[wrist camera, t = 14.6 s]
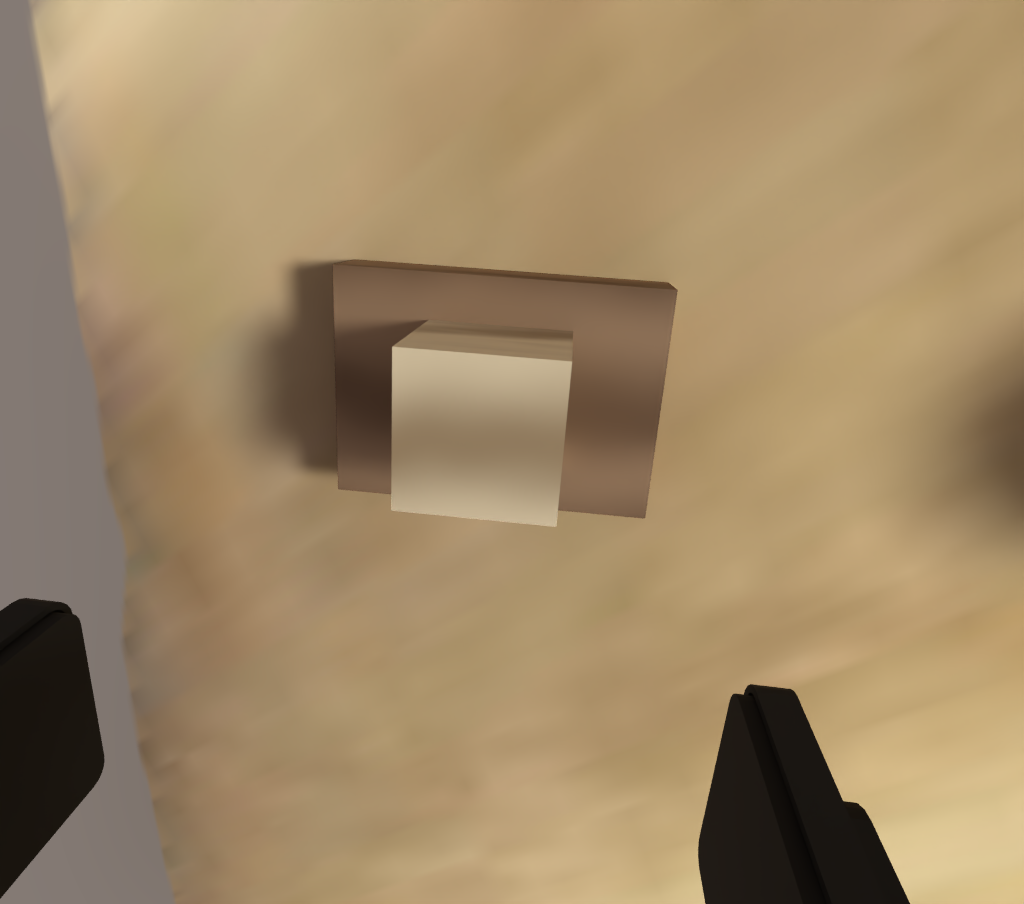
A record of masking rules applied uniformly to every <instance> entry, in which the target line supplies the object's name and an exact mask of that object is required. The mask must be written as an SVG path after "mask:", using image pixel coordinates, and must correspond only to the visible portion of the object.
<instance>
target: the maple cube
mask: <svg viewBox="0 0 1024 904" xmlns="http://www.w3.org/2000/svg"><path fill="white" fill-rule="evenodd" d="M572 353H573V331H563V330H550V329H538V328H525V327H513V326H501V325H488V324H476V323H463V322H451V321H438V320H428V321H427V322H425V323H424V324H422V325H421V326H420V327H418V328H417V329H416V330H414V331H413V332H412V333H410V334H409V335H407V336H406V337H405V338H403V339H402V340H401V341H399V342H398V343H396V344H395V345H394V346H392V465H391V511H400V512H410V513H421V514H431V515H441V516H451V517H461V518H471V519H482V520H492V521H502V522H512V523H522V524H532V525H543V526H553V527H556V525H557V515H558V504H559V494H560V483H561V473H562V463H563V452H564V442H565V431H566V421H567V411H568V400H569V390H570V379H571V369H572Z"/></svg>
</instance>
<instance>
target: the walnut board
mask: <svg viewBox="0 0 1024 904" xmlns="http://www.w3.org/2000/svg"><path fill="white" fill-rule="evenodd" d="M333 298H334V340H335V381H336V423H337V464H338V489H341V490H352V491H362V492H373V493H383V494H391V465H392V346H394V345H395V344H396V343H398V342H399V341H401V340H402V339H403V338H405V337H406V336H407V335H409V334H410V333H412V332H413V331H414V330H416V329H417V328H418V327H420V326H421V325H422V324H424V323H425V322H427V321H428V320H438V321H451V322H463V323H476V324H488V325H501V326H513V327H525V328H538V329H550V330H563V331H573V353H572V369H571V379H570V390H569V400H568V411H567V421H566V431H565V442H564V452H563V463H562V473H561V483H560V494H559V504H558V510H561V511H572V512H582V513H593V514H603V515H614V516H624V517H634V518H645V515H646V508H647V501H648V494H649V487H650V480H651V473H652V466H653V459H654V452H655V445H656V438H657V431H658V424H659V417H660V410H661V403H662V396H663V389H664V382H665V375H666V368H667V361H668V354H669V347H670V340H671V333H672V326H673V319H674V312H675V305H676V298H677V289H676V288H674V287H673V286H672V285H671V284H669V283H667V282H654V281H640V280H626V279H613V278H599V277H586V276H572V275H559V274H545V273H531V272H518V271H504V270H491V269H477V268H463V267H450V266H436V265H423V264H409V263H395V262H382V261H368V260H351V261H346V262H341V263H337V264H333Z"/></svg>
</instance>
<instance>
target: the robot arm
mask: <svg viewBox="0 0 1024 904" xmlns="http://www.w3.org/2000/svg"><path fill="white" fill-rule="evenodd" d="M99 730H100V729H99V724H98V718H97V713H96V708H95V701H94V696H93V690H92V684H91V679H90V673H89V667H88V662H87V656H86V650H85V645H84V639H83V633H82V628H81V623H80V620H79V618H78V617H77V616H76V615H73V614H72V611H71V609H70V607H69V606H68V605H67V604H64V603H62V602H54V601H46V600H38V599H29V598H24V599H19V600H17V601H15V602H13V603H11V604H10V605H9V606H7V607H6V608H4V609H3V610H1V611H0V898H1V897H2V896H3V895H4V894H5V892H6V891H7V890H8V889H9V887H10V886H11V885H12V884H13V883H14V882H15V880H16V879H17V878H18V877H19V876H20V874H21V873H22V872H23V871H24V870H25V868H26V867H27V866H28V865H29V864H30V862H31V861H32V860H33V859H34V858H35V856H36V855H37V854H38V853H39V851H40V850H41V849H42V848H43V847H44V846H45V844H46V843H47V842H48V841H49V840H50V839H51V837H52V836H53V835H54V834H55V833H56V831H57V830H58V829H59V828H60V827H61V825H62V824H63V823H64V822H65V821H66V819H67V818H68V817H69V816H70V814H71V813H72V812H73V811H74V810H75V809H76V807H77V806H78V805H79V804H80V803H81V802H82V800H83V799H84V798H85V797H86V796H87V794H88V793H89V792H90V791H91V790H92V788H93V787H94V785H95V784H96V783H97V781H98V780H99V778H100V776H101V773H102V770H103V767H104V752H103V746H102V741H101V735H100V731H99ZM698 858H699V869H700V875H701V881H702V886H703V892H704V898H705V903H706V904H910V903H909V901H908V898H907V896H906V894H905V892H904V890H903V888H902V886H901V883H900V881H899V879H898V877H897V875H896V873H895V871H894V869H893V866H892V864H891V862H890V860H889V858H888V856H887V854H886V851H885V849H884V847H883V845H882V843H881V841H880V839H879V836H878V834H877V832H876V830H875V828H874V826H873V824H872V821H871V820H870V818H869V816H868V815H867V813H866V811H865V810H864V809H863V808H862V807H861V806H860V805H859V804H858V803H853V802H845V801H843V800H842V798H841V795H840V793H839V791H838V789H837V786H836V784H835V782H834V779H833V777H832V775H831V772H830V770H829V768H828V766H827V763H826V761H825V759H824V756H823V754H822V752H821V750H820V747H819V745H818V743H817V740H816V738H815V736H814V733H813V731H812V729H811V727H810V724H809V722H808V720H807V717H806V715H805V713H804V711H803V708H802V706H801V704H800V701H799V699H798V697H797V695H796V693H795V692H794V691H793V690H791V689H785V688H777V687H768V686H760V685H752V684H751V685H748V686H747V688H746V689H745V693H744V695H742V694H733V695H732V697H731V699H730V702H729V707H728V711H727V716H726V720H725V725H724V729H723V734H722V738H721V743H720V747H719V752H718V756H717V761H716V765H715V770H714V774H713V779H712V783H711V788H710V792H709V797H708V801H707V806H706V810H705V815H704V819H703V824H702V828H701V833H700V838H699V847H698Z"/></svg>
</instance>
